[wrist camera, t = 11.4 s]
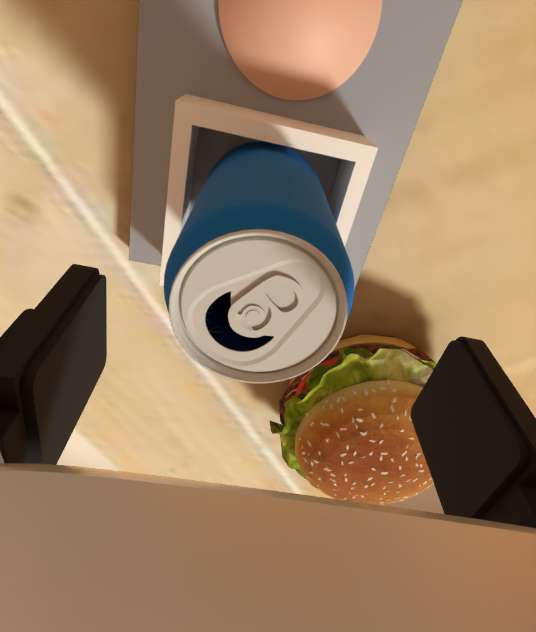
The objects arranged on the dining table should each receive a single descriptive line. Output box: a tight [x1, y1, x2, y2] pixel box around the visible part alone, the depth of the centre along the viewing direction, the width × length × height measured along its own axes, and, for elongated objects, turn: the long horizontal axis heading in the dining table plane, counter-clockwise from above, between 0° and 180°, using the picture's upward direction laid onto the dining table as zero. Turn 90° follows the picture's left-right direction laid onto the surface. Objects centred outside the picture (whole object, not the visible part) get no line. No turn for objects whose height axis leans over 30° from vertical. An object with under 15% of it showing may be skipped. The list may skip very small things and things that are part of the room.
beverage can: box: [164, 141, 354, 383], centre depth 18 cm, size 6×6×12 cm
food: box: [270, 334, 437, 505], centre depth 29 cm, size 14×14×8 cm
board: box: [129, 0, 463, 289], centre depth 21 cm, size 18×14×4 cm
